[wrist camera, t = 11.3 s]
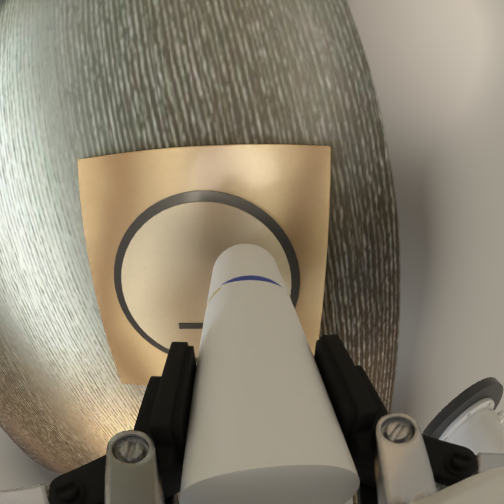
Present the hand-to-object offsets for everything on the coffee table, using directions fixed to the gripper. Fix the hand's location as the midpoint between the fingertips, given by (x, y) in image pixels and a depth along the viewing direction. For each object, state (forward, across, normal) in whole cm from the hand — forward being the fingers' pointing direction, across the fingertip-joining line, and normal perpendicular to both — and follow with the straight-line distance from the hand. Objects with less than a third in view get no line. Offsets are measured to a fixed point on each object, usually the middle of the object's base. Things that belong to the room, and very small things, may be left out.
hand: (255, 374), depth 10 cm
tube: (+10, 0, 0) cm, 10 cm away
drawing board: (+13, +3, +2) cm, 13 cm away
